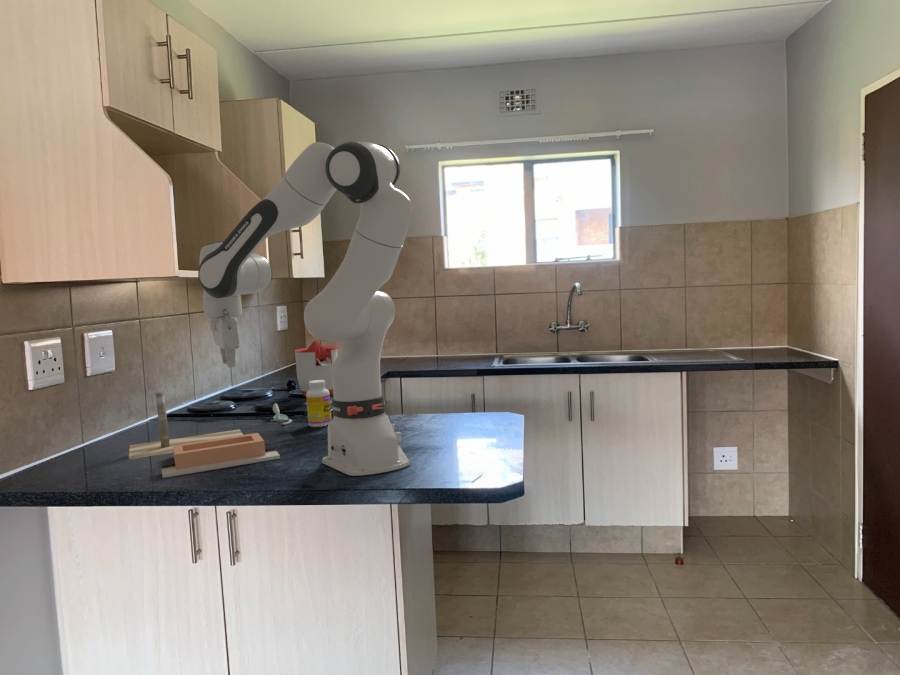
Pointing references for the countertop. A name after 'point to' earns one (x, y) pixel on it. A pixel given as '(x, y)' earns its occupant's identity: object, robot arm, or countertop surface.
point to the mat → (218, 464)
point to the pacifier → (280, 416)
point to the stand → (166, 444)
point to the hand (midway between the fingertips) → (229, 365)
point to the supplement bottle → (318, 404)
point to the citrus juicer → (315, 365)
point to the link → (218, 450)
